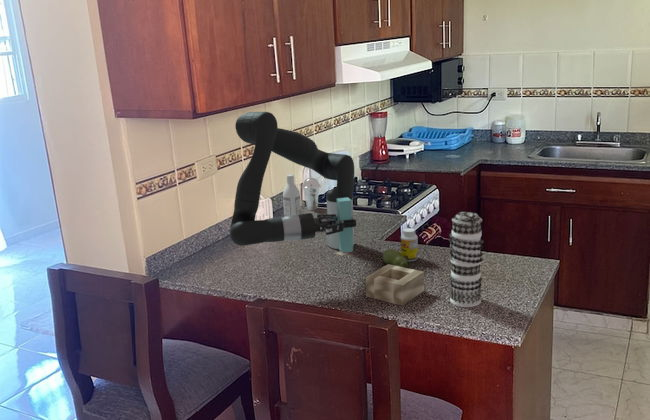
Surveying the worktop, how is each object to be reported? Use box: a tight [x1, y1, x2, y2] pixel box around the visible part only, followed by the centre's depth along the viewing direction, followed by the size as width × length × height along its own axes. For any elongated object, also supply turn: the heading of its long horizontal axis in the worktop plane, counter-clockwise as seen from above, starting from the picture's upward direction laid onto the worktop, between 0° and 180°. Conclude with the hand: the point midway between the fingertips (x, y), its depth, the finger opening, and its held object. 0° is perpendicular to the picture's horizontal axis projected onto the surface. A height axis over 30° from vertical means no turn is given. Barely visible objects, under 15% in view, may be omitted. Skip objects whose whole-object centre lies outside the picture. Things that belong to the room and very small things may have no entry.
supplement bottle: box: [400, 227, 419, 263], centre depth 203 cm, size 6×6×10 cm
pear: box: [382, 248, 409, 268], centre depth 199 cm, size 6×5×10 cm
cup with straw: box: [301, 168, 321, 211], centre depth 269 cm, size 8×9×20 cm
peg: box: [337, 197, 354, 253], centre depth 185 cm, size 4×4×16 cm
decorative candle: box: [448, 211, 485, 308], centre depth 168 cm, size 9×9×25 cm
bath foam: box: [282, 174, 302, 217], centre depth 249 cm, size 7×7×20 cm
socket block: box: [365, 264, 425, 306], centre depth 177 cm, size 12×12×6 cm
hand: (353, 220), depth 185 cm, fingers closed on peg, 3 cm apart
